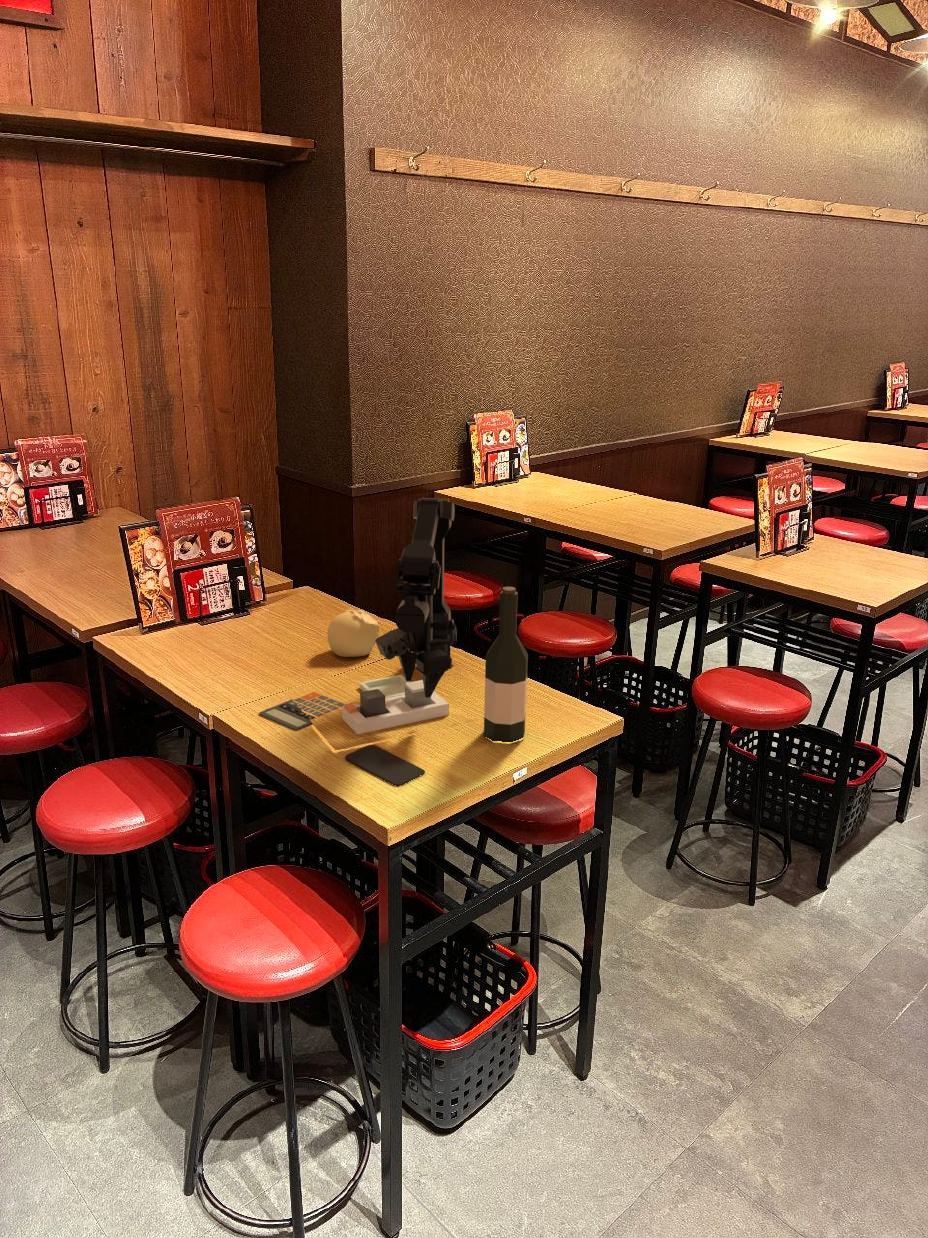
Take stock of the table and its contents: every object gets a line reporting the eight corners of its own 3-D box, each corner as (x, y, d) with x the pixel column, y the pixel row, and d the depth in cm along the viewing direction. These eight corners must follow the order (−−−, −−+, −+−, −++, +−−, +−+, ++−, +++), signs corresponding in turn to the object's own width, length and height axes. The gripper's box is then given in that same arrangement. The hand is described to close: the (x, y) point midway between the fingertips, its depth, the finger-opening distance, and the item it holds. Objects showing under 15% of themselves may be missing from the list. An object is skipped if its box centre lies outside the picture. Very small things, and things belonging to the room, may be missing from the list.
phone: (397, 786, 157) (342, 756, 166) (397, 790, 157) (342, 760, 167) (427, 771, 162) (372, 743, 171) (427, 775, 162) (372, 747, 172)
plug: (422, 706, 187) (422, 679, 186) (430, 713, 184) (431, 686, 182) (404, 710, 186) (404, 683, 184) (413, 717, 182) (413, 690, 180)
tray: (401, 681, 201) (401, 674, 200) (420, 698, 193) (420, 690, 192) (359, 689, 196) (359, 682, 196) (377, 706, 188) (377, 699, 188)
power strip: (431, 702, 191) (431, 674, 189) (448, 717, 184) (449, 687, 182) (342, 720, 182) (341, 691, 179) (357, 736, 175) (356, 706, 173)
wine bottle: (512, 748, 171) (518, 598, 162) (475, 737, 176) (478, 590, 166) (533, 732, 178) (539, 586, 168) (496, 721, 182) (500, 579, 172)
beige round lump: (387, 655, 216) (386, 613, 212) (342, 665, 209) (340, 622, 206) (364, 641, 225) (363, 600, 221) (320, 650, 218) (318, 608, 215)
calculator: (351, 704, 188) (296, 728, 177) (351, 708, 188) (296, 733, 177) (313, 689, 195) (258, 711, 184) (313, 693, 195) (258, 716, 184)
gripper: (361, 608, 182) (363, 679, 187) (400, 637, 167) (401, 714, 172) (411, 600, 187) (412, 670, 192) (453, 628, 172) (452, 703, 177)
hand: (418, 688), depth 183 cm, fingers open, 9 cm apart
